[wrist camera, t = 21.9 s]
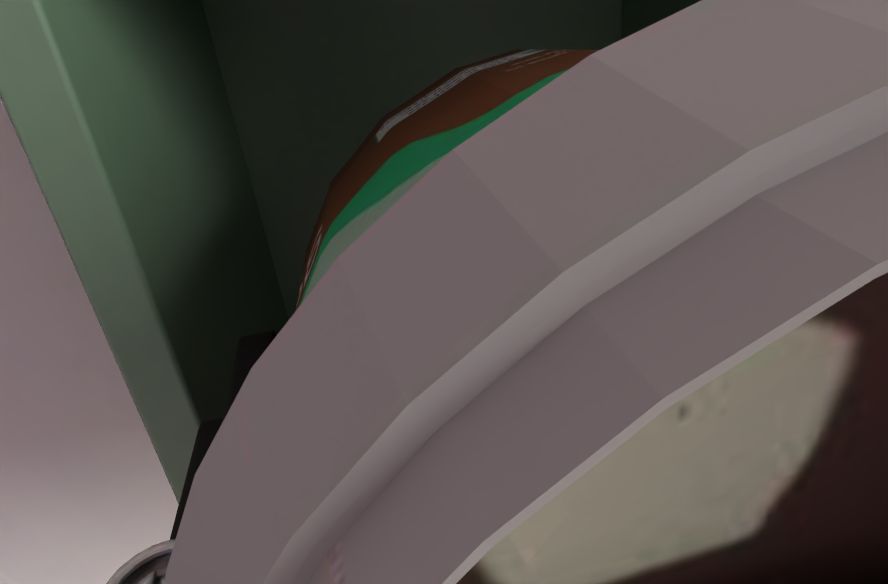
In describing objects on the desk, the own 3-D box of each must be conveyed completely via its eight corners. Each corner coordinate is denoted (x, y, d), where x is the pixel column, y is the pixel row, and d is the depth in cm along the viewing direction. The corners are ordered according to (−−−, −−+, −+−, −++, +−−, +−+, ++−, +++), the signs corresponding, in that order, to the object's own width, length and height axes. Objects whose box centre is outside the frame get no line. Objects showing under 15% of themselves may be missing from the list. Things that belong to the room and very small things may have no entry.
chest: (290, 400, 25) (269, 715, 15) (144, -103, 17) (-132, -195, 7) (629, 333, 26) (831, 579, 16) (640, -165, 18) (1060, -323, 8)
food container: (134, 29, 10) (-858, 403, 1) (507, -44, 11) (1399, -90, 2) (330, 554, 16) (366, 1260, 7) (565, 487, 17) (860, 1066, 8)
